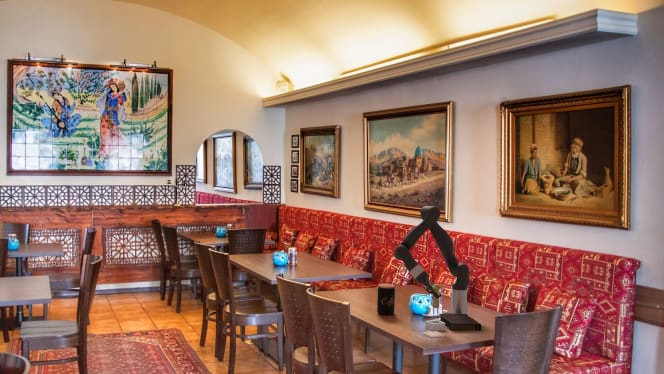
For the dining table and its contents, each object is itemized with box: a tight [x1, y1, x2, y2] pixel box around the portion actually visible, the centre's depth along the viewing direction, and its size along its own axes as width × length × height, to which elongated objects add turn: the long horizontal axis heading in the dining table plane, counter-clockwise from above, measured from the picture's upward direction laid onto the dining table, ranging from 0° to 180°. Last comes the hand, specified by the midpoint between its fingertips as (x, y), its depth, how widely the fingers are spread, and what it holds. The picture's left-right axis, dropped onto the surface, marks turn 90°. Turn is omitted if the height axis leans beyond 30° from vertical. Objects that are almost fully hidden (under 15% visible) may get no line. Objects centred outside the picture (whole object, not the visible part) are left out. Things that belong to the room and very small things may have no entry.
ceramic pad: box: [422, 331, 446, 339], centre depth 378 cm, size 9×9×1 cm
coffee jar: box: [376, 283, 396, 317], centre depth 427 cm, size 11×11×18 cm
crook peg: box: [432, 283, 446, 309], centre depth 391 cm, size 7×4×13 cm, turn 66°
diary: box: [437, 312, 483, 332], centre depth 402 cm, size 19×25×5 cm
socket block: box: [424, 319, 446, 332], centre depth 392 cm, size 8×8×4 cm
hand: (439, 297), depth 391 cm, fingers closed on crook peg, 3 cm apart
